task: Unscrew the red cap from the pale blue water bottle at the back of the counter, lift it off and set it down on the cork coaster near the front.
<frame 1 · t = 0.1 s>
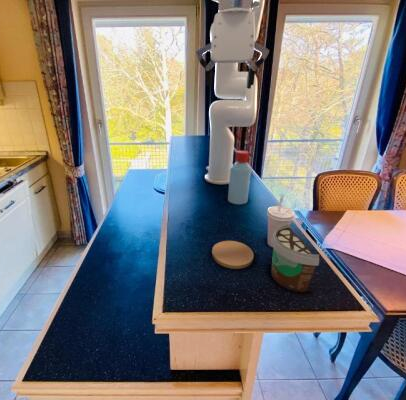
hand: (229, 88, 67), 37 cm above the breakfast bar, tool pointing down, fingers open, 9 cm apart
bottle: (237, 200, 94), on the breakfast bar
coaster: (232, 255, 65), on the breakfast bar
food container: (281, 277, 58), on the breakfast bar
smoothie: (274, 244, 69), on the breakfast bar
sprinkles bottle: (216, 163, 133), on the breakfast bar
cap: (242, 152, 86), point 17 cm above the breakfast bar, screwed on, not yet turned
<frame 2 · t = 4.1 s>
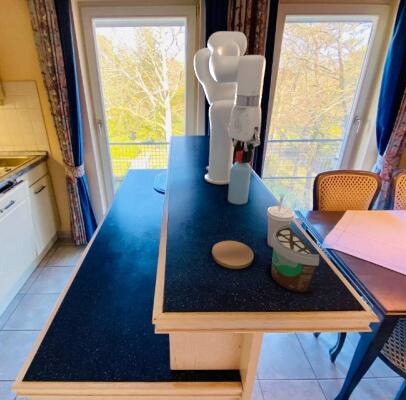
hand: (241, 160, 87), 15 cm above the breakfast bar, tool pointing down, fingers closed on cap, 3 cm apart
cap: (242, 152, 86), point 17 cm above the breakfast bar, screwed on, not yet turned, touching gripper
everything else where it was.
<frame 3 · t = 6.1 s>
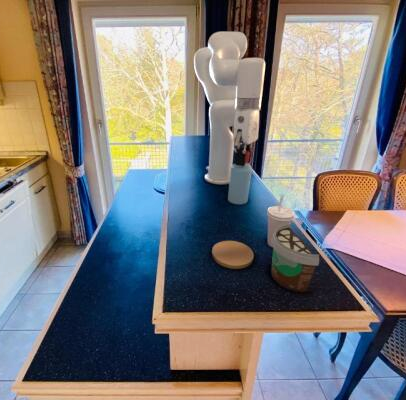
hand: (242, 163, 87), 14 cm above the breakfast bar, tool pointing down, fingers closed on cap, 4 cm apart
bottle: (237, 199, 94), on the breakfast bar, touching gripper
cap: (243, 152, 85), point 17 cm above the breakfast bar, turned 119° so far, risen 0.1 cm, still on its thread, touching gripper
everything else where it was.
when the fingers open (3 cm above the breakfast bar, at t = 31.8 s): cap drops 2 cm, resting on coaster.
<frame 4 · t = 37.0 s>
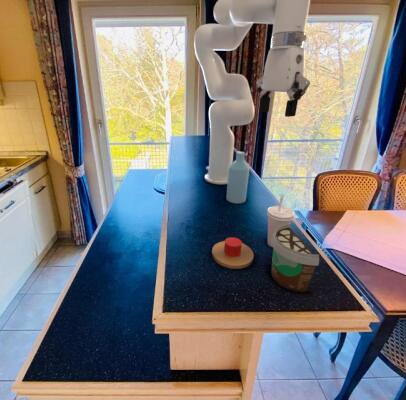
hand: (276, 114, 73), 30 cm above the breakfast bar, tool pointing down, fingers open, 9 cm apart
bottle: (235, 199, 94), on the breakfast bar
cap: (233, 242, 63), point 4 cm above the breakfast bar, off its thread, touching coaster
everything else where it was.
at the end: cap came off its thread; cap inside the target area on the coaster (0.1 cm from its centre), point 3.7 cm above the coaster's base; the gripper is holding nothing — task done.
